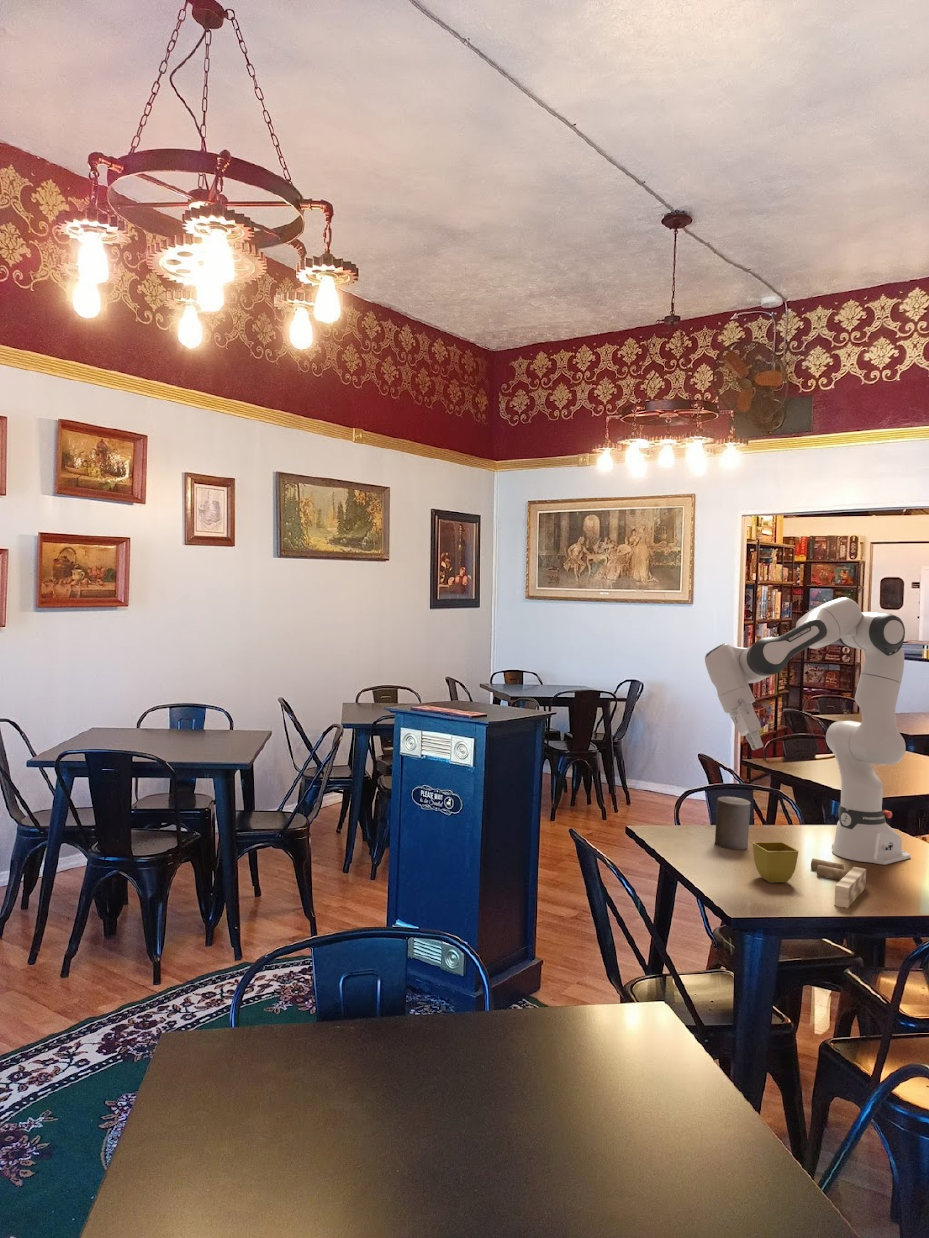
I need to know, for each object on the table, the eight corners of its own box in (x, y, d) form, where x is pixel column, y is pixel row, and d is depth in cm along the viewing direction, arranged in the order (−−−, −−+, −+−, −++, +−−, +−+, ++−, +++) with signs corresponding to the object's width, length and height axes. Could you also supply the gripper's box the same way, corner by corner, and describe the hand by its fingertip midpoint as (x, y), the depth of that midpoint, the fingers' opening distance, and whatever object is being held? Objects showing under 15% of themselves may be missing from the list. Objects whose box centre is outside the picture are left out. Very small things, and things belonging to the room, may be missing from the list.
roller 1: (810, 869, 244) (811, 858, 245) (812, 869, 246) (814, 858, 247) (841, 875, 239) (842, 864, 240) (843, 875, 242) (844, 864, 242)
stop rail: (852, 885, 232) (853, 866, 231) (865, 888, 230) (866, 869, 230) (834, 905, 215) (835, 885, 215) (847, 908, 214) (848, 887, 213)
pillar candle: (709, 844, 266) (711, 795, 265) (722, 838, 273) (725, 790, 272) (740, 852, 259) (743, 801, 259) (753, 845, 267) (756, 796, 266)
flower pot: (766, 885, 229) (767, 851, 228) (750, 874, 237) (751, 841, 237) (797, 885, 230) (799, 851, 230) (780, 874, 239) (782, 841, 239)
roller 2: (816, 876, 238) (817, 864, 239) (818, 875, 241) (819, 864, 241) (847, 882, 234) (848, 871, 234) (850, 882, 236) (851, 870, 236)
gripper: (753, 693, 234) (774, 742, 231) (744, 700, 254) (764, 746, 251) (730, 701, 235) (751, 750, 232) (723, 708, 255) (743, 754, 251)
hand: (758, 748), depth 241 cm, fingers open, 8 cm apart
